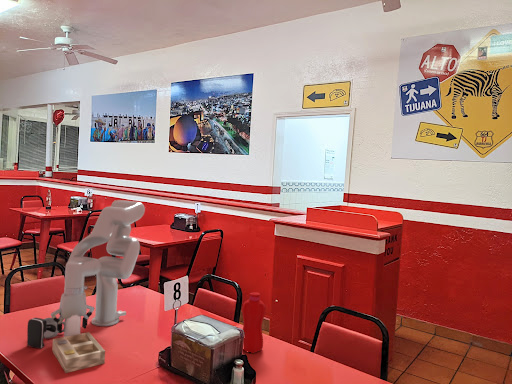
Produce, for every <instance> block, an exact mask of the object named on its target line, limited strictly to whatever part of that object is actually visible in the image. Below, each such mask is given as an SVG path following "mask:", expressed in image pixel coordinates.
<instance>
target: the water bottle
mask: <svg viewBox="0 0 512 384" xmlns="http://www.w3.org/2000/svg"><path fill="white" fill-rule="evenodd" d="M260 297H261V294H260V292H250V293H249V298H248V299H247V300H245V301H244V302H243V305H242V308H241V314H242V315H241V316H242V321H243V323H242V324H243V327H242V329H243V330H244V332H245V338H244V350H245V351H244V350H243V351H244V352H246V351H248V352H251V353H250V354H254V353H253V352H255V353H257V352H260V351H261V350H263V347H264V337H263V329H262V327H263V326H262V325H263V321H264V318H265V316H266V305H265V304H264V302H263V301H262V300H260ZM248 352H247V353H248Z"/></svg>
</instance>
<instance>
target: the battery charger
mask: <svg viewBox="0 0 512 384" xmlns="http://www.w3.org/2000/svg"><path fill="white" fill-rule="evenodd" d="M26 328H27V330H26V333H27V335H26V336H27V341H26V342H27V344H26V346H28V347H31V348H35V349H43V348H44V347H45V343H44V339H45V338H44V332H46V331H47V322H46V320H45V318H40V317H34V318H30V319H28V321H27V327H26Z"/></svg>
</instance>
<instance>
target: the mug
mask: <svg viewBox="0 0 512 384" xmlns="http://www.w3.org/2000/svg"><path fill="white" fill-rule="evenodd" d="M44 319H45V320H46V322H47V331H46V332H44V338H43V339H54V338H55V337H57V336H58V335H59V334H60V333H59V331H57V322H55V321H54V320H53V318H52V317H46V318H44ZM62 326H63V328H62V333H64V327H65V320H63V321H62Z"/></svg>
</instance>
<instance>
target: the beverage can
mask: <svg viewBox="0 0 512 384" xmlns="http://www.w3.org/2000/svg"><path fill="white" fill-rule="evenodd" d="M64 322H65V327H64V326H63V329H64V332H63V337H67V336H72V335H77V334H81V326H82V323H81V322H82V316H78V315H72V316H71V317H70V318H68V319H64Z"/></svg>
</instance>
